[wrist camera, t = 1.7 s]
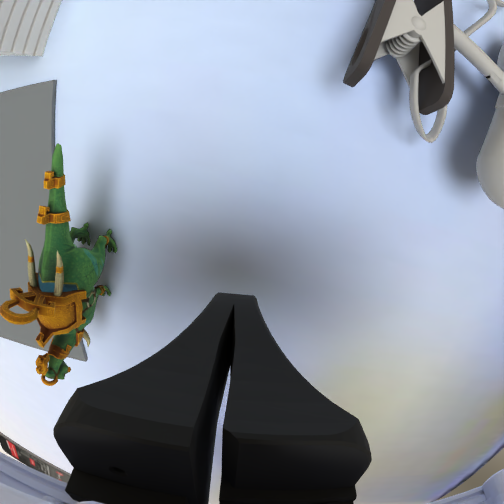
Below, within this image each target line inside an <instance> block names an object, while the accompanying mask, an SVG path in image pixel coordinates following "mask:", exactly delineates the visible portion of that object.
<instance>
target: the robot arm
mask: <svg viewBox="0 0 504 504" xmlns="http://www.w3.org/2000/svg"><path fill="white" fill-rule="evenodd" d="M230 364H231V380H230V387H229V393H228V400H227V406H226V412H225V418H224V424H223V439H222V477H221V486H220V496H219V501H220V504H353V501H354V500H355V499H356V496H357V495H356V489H355V484H356V483H357V481H358V480H359V479H360V477H361V476H362V475H363V474H364V472H365V471H366V470H367V468H368V467H369V465H370V463H371V452H370V447H369V444H368V440H367V438H366V436H365V433H364V431H363V428H362V426H361V424H360V422H359V419H358V418H356V417H354V416H353V415H351V414H350V413H348V412H347V411H345V410H343V409H342V408H340V407H339V406H337V405H336V404H334V403H333V402H331V401H330V400H329V399H328V398H326V397H325V396H324V395H322V394H321V393H320V392H319V391H318V390H316V389H315V388H314V387H313V386H312V385H311V384H310V383H309V382H308V381H307V380H306V379H305V378H304V377H303V376H302V375H301V374H300V373H299V372H298V371H297V370H296V368H295V367H294V366H293V365H292V364H291V362H290V361H289V360H288V359H287V357H286V356H285V355H284V353H283V352H282V350H281V349H280V348H279V346H278V344H277V343H276V341H275V340H274V338H273V336H272V335H271V333H270V331H269V329H268V327H267V325H266V323H265V321H264V319H263V317H262V314H261V312H260V309H259V307H258V303H257V299H256V298H255V296H252V295H240V294H229V293H217V294H216V295H215V296H214V297H213V299H212V300H211V302H210V303H209V304H208V305H207V307H206V308H205V309H204V310H203V311H202V313H201V314H200V315H199V316H198V317H197V318H196V319H195V320H194V321H193V322H192V323H191V324H190V325H189V326H188V327H187V328H186V329H185V330H184V331H183V332H182V333H181V334H180V335H179V336H178V337H176V338H175V339H174V340H173V341H172V342H170V343H169V344H168V345H167V346H165V347H164V348H163V349H161V350H160V351H158V352H157V353H156V354H154V355H152V356H151V357H149V358H148V359H146V360H144V361H143V362H141V363H139V364H138V365H136V366H134V367H132V368H130V369H128V370H126V371H124V372H121V373H119V374H117V375H114V376H112V377H110V378H107V379H104V380H101V381H99V382H96V383H93V384H90V385H87V386H83V387H80V388H77V390H76V391H75V393H74V394H73V395H72V397H71V398H70V399H69V401H68V403H67V404H66V406H65V408H64V410H63V412H62V414H61V415H60V417H59V419H58V421H57V423H56V425H55V427H54V437H55V439H56V441H57V443H58V445H59V447H60V449H61V450H62V452H63V453H64V454H65V456H66V457H67V459H68V460H69V462H70V463H71V465H72V466H73V467H74V469H73V471H72V473H71V476H70V478H69V481H68V483H65V482H63V481H60V480H58V479H55V478H53V477H51V476H48V475H46V474H44V473H41V472H39V471H37V470H35V469H33V468H30V467H28V466H26V465H24V464H22V463H20V462H18V461H16V460H14V459H12V458H10V457H8V456H7V455H5V454H3V453H1V452H0V504H208V501H209V491H210V481H211V472H212V463H213V454H214V445H215V436H216V428H217V421H218V416H219V411H220V407H221V403H222V398H223V394H224V390H225V386H226V381H227V377H228V373H229V368H230ZM427 504H504V469H502V470H500V471H498V472H497V473H495V474H494V475H492V476H491V477H490V478H489V479H488V480H486V482H485V483H484V484H483V485H482V486H480V487H477V488H474V489H472V490H469V491H466V492H463V493H460V494H457V495H454V496H451V497H448V498H444V499H441V500H438V501H434V502H430V503H427Z"/></svg>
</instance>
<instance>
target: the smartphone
mask: <svg viewBox="0 0 504 504" xmlns="http://www.w3.org/2000/svg"><path fill="white" fill-rule="evenodd" d="M0 443H1V446H2V448H3V450H4V451H5V452H6V453H8V454H9V455H11V456H12V457H14V458H16V459H17V460H19V461H20V462H22V463H24V464H25V465H27V466H28V467H30V468H33V469H35V470H37V471H39V472H41V473H44V474H46V475H48V476H51V477H53V478H55V479H58V480H60V481H63V482H65V483H68V481H69V478H70V476H71V474H70V473H68V472H66V471H64V470H62V469H60V468H58V467H56V466H54V465H52V464H51V463H49V462H47V461H45V460H44V459H42V458H40V457H38V456H37V455H35V454H33V453H32V452H30V451H28V450H27V449H25V448H24V447H22V446H20V445H19V444H17V443H16V442H14V441H13V440H11V439H10V438H8V437H7V436H5V435H4V434H2V433H1V432H0Z"/></svg>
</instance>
